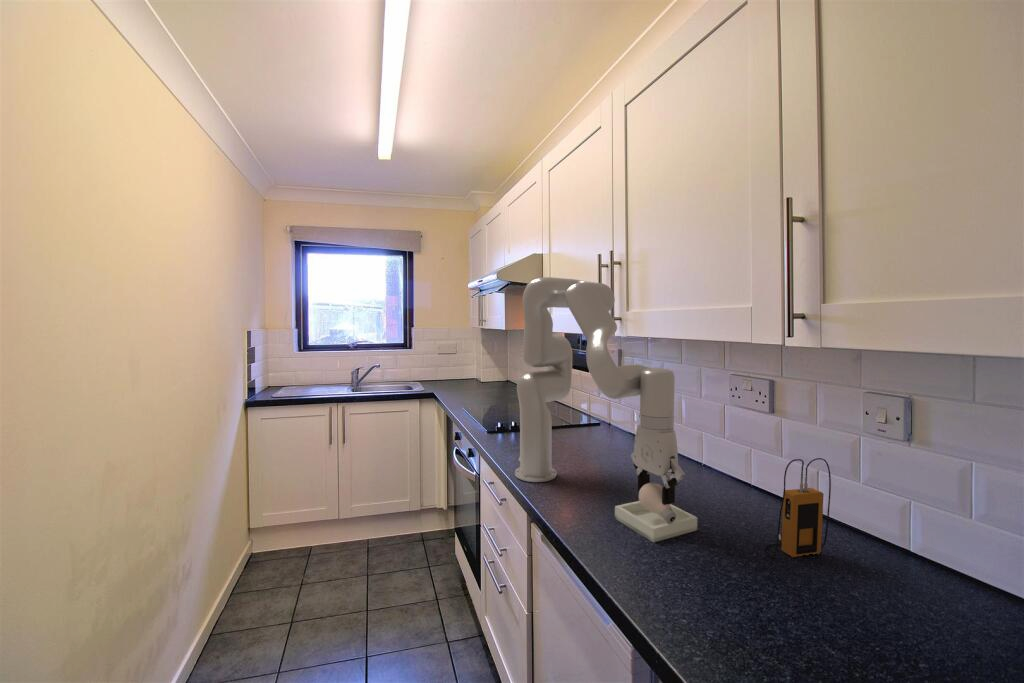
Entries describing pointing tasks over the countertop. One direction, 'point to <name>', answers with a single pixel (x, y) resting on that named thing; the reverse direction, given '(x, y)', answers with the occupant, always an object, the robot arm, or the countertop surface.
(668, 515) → the light bulb
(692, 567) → the countertop surface
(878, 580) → the countertop surface
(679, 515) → the tray
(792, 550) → the multimeter
